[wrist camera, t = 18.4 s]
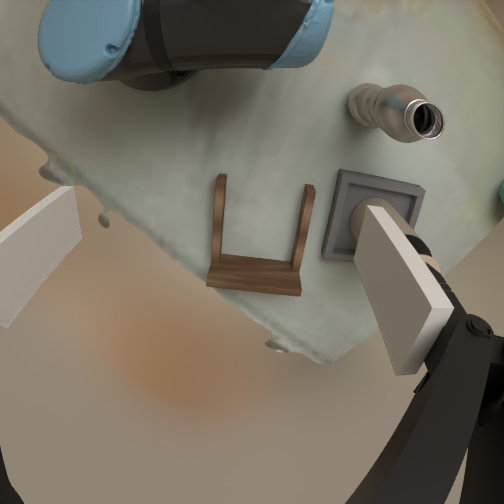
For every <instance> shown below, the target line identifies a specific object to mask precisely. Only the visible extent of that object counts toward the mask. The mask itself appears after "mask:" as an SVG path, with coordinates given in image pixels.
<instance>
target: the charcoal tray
mask: <svg viewBox="0 0 504 504" xmlns="http://www.w3.org/2000/svg"><path fill="white" fill-rule="evenodd" d="M424 195H425V190H424V189H423V188H422V187H420V186H419V185H415V184H410V183H406V182H402V181H397V180H392V179H388V178H383V177H378V176H373V175H368V174H363V173H358V172H352V171H347V170H341V169H339V173H338V178H337V183H336V188H335V193H334V197H333V202H332V207H331V211H330V216H329V220H328V224H327V229H326V233H325V237H324V241H323V246H322V250H321V252H322V255H323V258H324V259H333V260H341V261H350V262H354V261H353V259H354V255H355V252H356V248H357V244H358V242H357V241H356V239H355V237H354V235H353V233H352V231H351V228H350V217H351V214H352V212H353V210H354V209H355V207H356V206H357V205H358V204H359V203H361V202H362V201H364V200H366V199H369V198H381V199H384V200H386V201H387V202H389V203H390V204H391V205H392V207H393V208H394V209H395V210H396V211H397V212H398V213H399V214H400V215H401V217H402V218H403V219H404V220H405V221H406V222H407V223H408V225H409V226H410V227H411V228H412V229H413V230H414V227H415V224H416V221H417V218H418V215H419V211H420V208H421V205H422V201H423V198H424Z"/></svg>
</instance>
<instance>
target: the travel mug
mask: <svg viewBox="0 0 504 504" xmlns="http://www.w3.org/2000/svg"><path fill="white" fill-rule="evenodd" d="M367 205H370V206H377V207H383V208H384V209H385V211H386V212H387V213H388V214H389V216H390V217H391V218H392V219H393V221H394V222H395V223H396V225H397V226H398V227H399V229H400V230H401V231H402V232H403V234H404V235H405V236H406V238H407V239H408V241H409V242H410V243H411V245H412V246H413V247H414V249H415V250H416V251H417V253H418V254H419V256H420V257H421V259H422V260H423V261H424V263H425V264H426V265H431V266H432V267H433V268H434V269H435V270H437V271H438V272H439V273H440V274H441V272H440V267H439V265H438V263H437V261H436V260H435V259H433V258H432V255H431V252H430V250H429V248H428V247H427V246H426V245H425V243H424V242H423V241H422V240H421V239H420V237H419V236H418V235H417V234H416V233H415V232H414V230H413V229H412V228H411V227H410V226H409V225H408V223H407V222H406V221H405V220H404V219H403V218H402V217H401V215H400V214H399V213H398V212H397V211H396V210H395V209H394V208H393V207H392V205H391V204H390V203H389V202H387V201H386V200H384V199H381V198H369V199H366V200H364V201H362V202H361V203H359V204H358V205H357V206H356V207H355V209H354V210H353V212H352V214H351V217H350V228H351V231H352V233H353V235H354V237H355V239H356V241H357V242H358V240H359V236H360V232H361V228H362V224H363V219H364V215H365V211H366V206H367Z"/></svg>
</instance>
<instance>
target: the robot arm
mask: <svg viewBox="0 0 504 504" xmlns="http://www.w3.org/2000/svg"><path fill="white" fill-rule="evenodd" d="M333 1H334V0H51V1H50V3H49V4H48V5H47V6H46V8H45V10H44V12H43V15H42V18H41V21H40V25H39V30H38V49H39V54H40V57H41V60H42V62H43V64H44V66H45V67H46V68H47V69H48V70H49V71H50V72H51V73H52V75H53V76H55V77H56V78H58V79H60V80H63V81H67V82H75V83H78V84H80V83H81V84H89V83H93V82H96V81H107V80H120V81H121V82H123V83H124V84H125V85H127V86H129V87H131V88H134V89H138V90H142V91H158V90H165V89H169V88H172V87H174V86H177V85H179V84H180V83H182V82H184V81H185V80H187V79H188V78H189V77H190V76H192V75H193V74H194V73H195V71H196V70H198V69H222V68H261V69H262V70H268V69H269V70H271V69H273V68H299V67H303V66H305V65H308V64H310V63H311V62H312V61H313V60H314V59H315V58H316V57H317V56H318V54H319V52H320V51H321V49H322V47H323V45H324V42H325V40H326V37H327V34H328V31H329V28H330V25H331V21H332V17H333V12H334V7H333ZM81 239H82V234H81V229H80V224H79V218H78V212H77V206H76V199H75V192H74V186H61V187H59V188H58V189H56V190H55V191H54V192H52V193H51V194H49V195H48V196H46V197H45V198H44V199H42V200H41V201H40V202H38V203H37V204H35V205H34V206H33V207H32V208H30V209H29V210H27V211H26V212H25V213H24V214H22V215H21V216H20V217H18V218H17V219H16V220H15V221H13V222H12V223H11V224H10V225H8V226H7V227H6V228H5V229H4V230H2V231H1V232H0V326H2V327H6V328H8V327H9V326H10V324H11V323H12V322H13V320H14V319H15V318H16V316H17V315H18V314H19V312H20V311H21V310H22V308H23V307H24V306H25V305H26V303H27V302H28V301H29V299H30V298H31V297H32V296H33V294H34V293H35V292H36V291H37V290H38V288H39V287H40V286H41V285H42V283H43V282H44V281H45V280H46V279H47V277H48V276H49V275H50V274H51V273H52V272H53V270H54V269H55V268H56V267H57V266H58V265H59V263H60V262H61V261H62V260H63V259H64V258H65V257H66V256H67V254H68V253H69V252H70V251H71V250H72V249H73V248H74V247H75V246H76V245H77V243H78V242H79V241H80V240H81ZM353 261H354V263H355V266H356V268H357V271H358V273H359V276H360V278H361V281H362V283H363V286H364V288H365V291H366V293H367V296H368V298H369V301H370V304H371V306H372V309H373V312H374V314H375V317H376V320H377V323H378V325H379V328H380V331H381V333H382V336H383V339H384V342H385V345H386V348H387V351H388V354H389V357H390V360H391V363H392V366H393V369H394V372H395V375H411V374H416V373H417V372H418V370H419V368H420V367H421V365H422V364H423V362H425V365H426V367H427V370H428V371H427V373H426V374H425V376H424V377H423V379H422V380H421V382H420V383H419V384H418V386H417V387H416V389H415V390H414V391H413V392H414V393H415V395H414V397H413V399H412V401H411V403H410V405H409V407H408V409H407V411H406V412H405V414H404V416H403V418H402V419H401V421H400V423H399V425H398V426H397V428H396V430H395V432H394V433H393V435H392V437H391V438H390V440H389V441H388V443H387V445H386V446H385V448H384V449H383V451H382V453H381V454H380V456H379V457H378V459H377V460H376V462H375V463H374V465H373V466H372V468H371V469H370V471H369V472H368V474H367V475H366V477H365V478H364V479H363V481H362V482H361V483H360V485H359V486H358V488H357V489H356V490H355V491H354V493H353V494H352V495H351V497H350V498H349V499H348V501H347V502H346V503H345V504H444V503H445V501H446V499H447V497H448V494H449V492H450V490H451V488H452V486H453V483H454V481H455V479H456V476H457V474H458V471H459V469H460V466H461V464H462V461H463V459H464V456H465V453H466V451H467V448H468V453H467V462H466V468H465V475H464V482H463V487H462V492H461V497H460V502H459V504H504V337H500V336H496V335H494V332H493V330H492V328H491V327H490V325H489V324H488V323H487V322H486V321H485V320H483V319H482V318H480V317H478V316H475V315H472V314H467V313H466V312H465V310H464V308H463V307H462V305H461V304H460V302H459V301H458V299H457V297H456V296H455V294H454V293H453V292H451V288H450V287H449V286H448V284H446V281H445V280H444V278H443V277H442V275H441V274H440V273H439V272H438V271H437V270H435V269H434V268H433V267H432V266H431V265H426V264H425V263H424V261H423V260H422V259H421V257H420V256H419V254H418V253H417V251H416V250H415V249H414V247H413V246H412V245H411V243H410V242H409V241H408V239H407V238H406V236H405V235H404V234H403V232H402V231H401V230H400V229H399V227H398V226H397V225H396V223H395V222H394V221H393V219H392V218H391V217H390V216H389V214H388V213H387V212H386V211H385V209H384V208H383V207H377V206H370V205H367V206H366V211H365V215H364V219H363V224H362V228H361V232H360V236H359V240H358V244H357V248H356V252H355V255H354V259H353ZM0 504H24V502H23V501H22V499H21V498H20V496H19V495H18V494H17V492H16V491H15V489H14V488H13V487H12V485H11V483H10V482H9V479H8V476H7V472H6V469H5V465H4V461H3V457H2V452H1V448H0Z"/></svg>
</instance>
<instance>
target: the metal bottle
mask: <svg viewBox="0 0 504 504" xmlns="http://www.w3.org/2000/svg"><path fill="white" fill-rule="evenodd" d="M348 107H349V111H350V113H351V115H352V116H353V117H354V119H355V120H356V121H357V122H358V123H360V124H361V125H363V126H365V127H369V128H380V129H382V130H383V131H384V132H385V133H386V134H387V135H388V136H390V137H391V138H393V139H395V140H397V141H399V142H403V143H411V142H416V141H419V140H421V139H422V138H423V139H426V140H433V139H436V138H437V137H439V136H440V135H441V133H442V132H443V129H444V125H445V121H444V116H443V113H442V111H441V110H440V109H439V107H437V106H436V105H435V104H433V103H431V102H428V100H427V99H426V97H425V96H424V95H423V94H422V93H420V92H419V91H418V90H417V89H415V88H413V87H411V86H408V85H403V84H400V85H393V86H390V87H387V88H382V87H380V86H378V85H376V84H372V83H365V84H361V85H359V86H357V87H356V88H354V89H353V90H352V92H351V93H350V95H349V98H348Z"/></svg>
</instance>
